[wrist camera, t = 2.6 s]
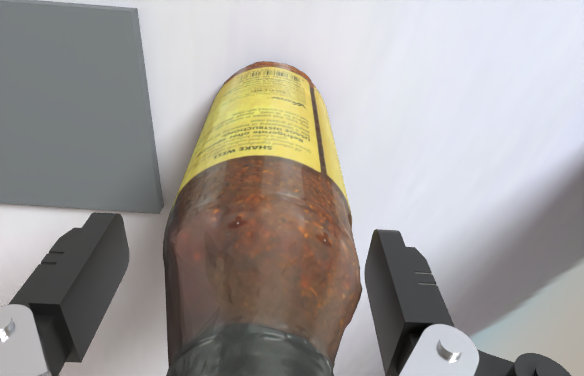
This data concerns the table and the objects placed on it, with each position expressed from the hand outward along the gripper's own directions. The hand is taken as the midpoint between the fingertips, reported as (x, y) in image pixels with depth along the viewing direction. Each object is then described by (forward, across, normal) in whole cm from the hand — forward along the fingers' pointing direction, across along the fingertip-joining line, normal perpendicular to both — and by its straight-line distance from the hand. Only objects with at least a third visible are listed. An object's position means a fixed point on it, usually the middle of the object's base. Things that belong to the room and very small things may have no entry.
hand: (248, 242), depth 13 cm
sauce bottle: (+11, 0, 0) cm, 11 cm away
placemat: (+11, +14, +1) cm, 18 cm away
